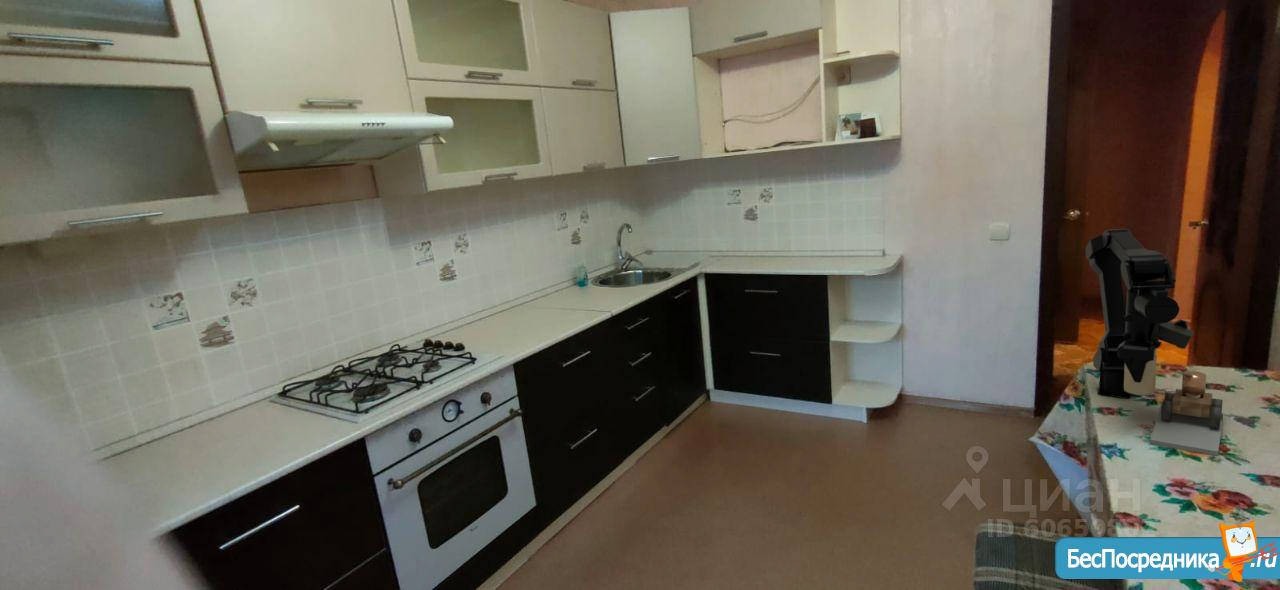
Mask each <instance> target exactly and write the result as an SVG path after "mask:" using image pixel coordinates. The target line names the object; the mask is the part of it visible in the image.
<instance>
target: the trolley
mask: <svg viewBox="0 0 1280 590" xmlns="http://www.w3.org/2000/svg"><path fill="white" fill-rule="evenodd" d="M1223 400H1224V399H1219V398H1213V393H1211V392H1205V394H1202V395H1200V398H1194V397H1186V393H1184V392H1182V388H1181V389H1179V388H1176V389H1175V391H1174V392H1165V393H1164V399H1163V400H1162V402H1161V405H1162V409H1161V420H1165V421H1171V420H1172V413H1174V414H1181V415H1187V416H1194V417H1201V418H1208V419H1209V427H1210V428H1217V429H1220V420H1221V414H1222V413H1223V404H1224V403H1223Z"/></svg>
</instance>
